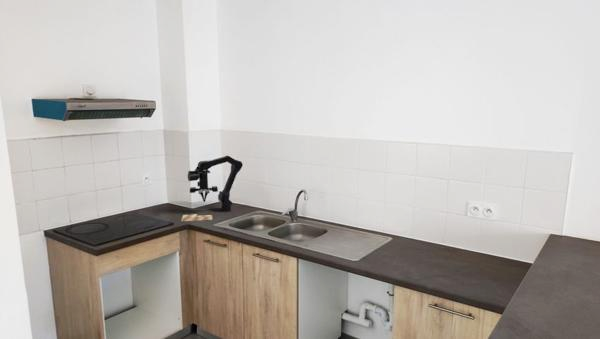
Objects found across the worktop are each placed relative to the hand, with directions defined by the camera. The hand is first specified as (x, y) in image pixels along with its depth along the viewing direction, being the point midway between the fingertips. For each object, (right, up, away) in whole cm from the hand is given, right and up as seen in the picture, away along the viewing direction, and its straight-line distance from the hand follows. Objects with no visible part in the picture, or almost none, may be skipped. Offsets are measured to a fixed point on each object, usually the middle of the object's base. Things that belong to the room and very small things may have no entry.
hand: (204, 201), depth 288 cm
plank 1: (-9, -11, -3) cm, 14 cm away
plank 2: (+1, -10, -1) cm, 11 cm away
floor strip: (-3, -12, -10) cm, 16 cm away
